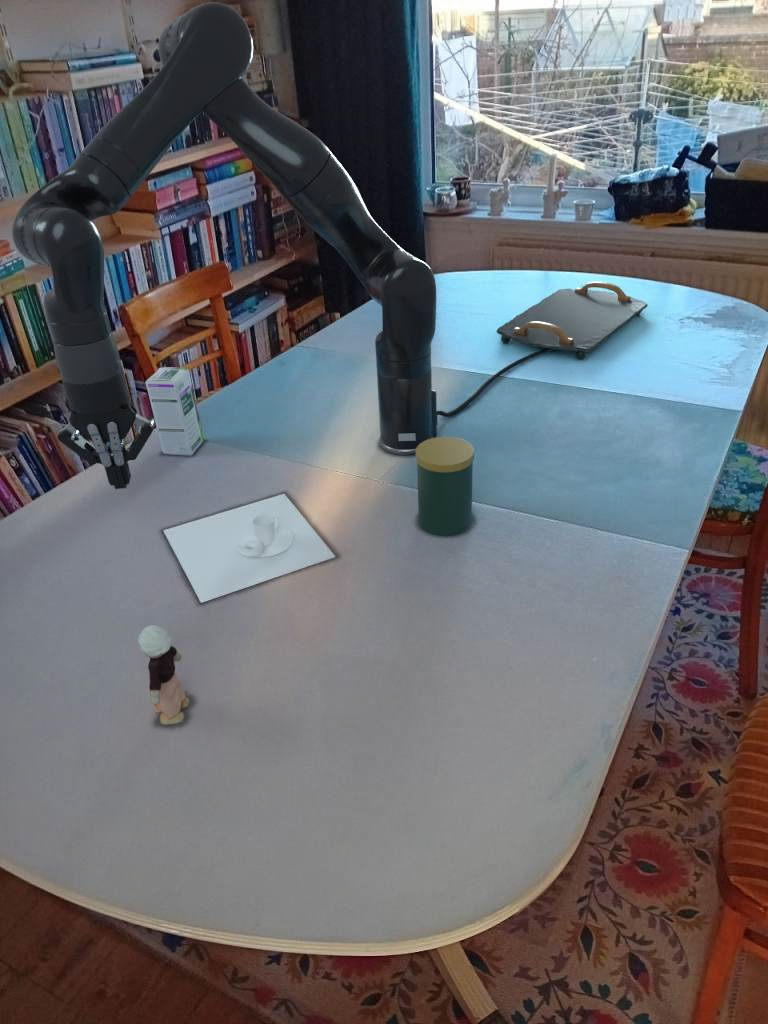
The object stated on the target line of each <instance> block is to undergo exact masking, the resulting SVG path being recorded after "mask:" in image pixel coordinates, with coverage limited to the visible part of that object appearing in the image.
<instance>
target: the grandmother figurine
mask: <svg viewBox="0 0 768 1024" xmlns="http://www.w3.org/2000/svg"><path fill="white" fill-rule="evenodd" d="M137 641H138V647H139V648H140V651H141V652H142V653H143V654H144V655H145V656H146V657H147V658H149V661H148V665H147V669H148V674H149V685H148V686H149V695H150V700H149V701H150V704H151V705H153V710H154V713H156V714H159V713H160V716H159V722H160V724H161V725H163V726H169V725H177V724H180V723H182V722H183V721H184V719H185V713H184V712H183V711H181V709H186V708H187V707H188V706H189V704H190V699H189V698H188V697H186V693H185V690H184V687H183V683H182V681H181V679H180V677H179V676H178V675H177V673H176V664H175V662H179V661H181V660H182V654H181V653H180V652H179V651H178V649H177V648H176V647H175V646H172V644H173V640H172V638H171V637H170V635H169V632H168V631H167V630H166V629H164V628H163V627H161V626H158V625H155V624H152V625H148V626H146V627H144V628H143V630H141V632H140V634H139V635H138V640H137Z"/></svg>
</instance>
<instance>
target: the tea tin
mask: <svg viewBox="0 0 768 1024" xmlns="http://www.w3.org/2000/svg"><path fill="white" fill-rule="evenodd" d="M415 461H416V466H417V468H416V469H417V470H416V471H417V502H418V503H417V504H418V506H417V507H418V509H417V510H418V523H419V526H420V528H421V529H422V530H424V531H425V532H426V533H429V534H431V535H435V536H442V537H448V536H455V535H458V534H461V533H464V532H465V531H467V530H468V529H469V528H470V527H471V525H472V521H473V469H474V467H473V465H474V463H473V462H474V461H475V448H474V446H473V444H471V443H470V441H469V442H468V441H467V440H465V439H463V438H459V437H454V436H437V437H436V438H431V439H428V440H426V441H423V442H422V443H420V444H419V445H418V446H417V448H416V454H415Z"/></svg>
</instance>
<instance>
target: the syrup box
mask: <svg viewBox="0 0 768 1024" xmlns="http://www.w3.org/2000/svg"><path fill="white" fill-rule="evenodd" d="M144 382H145V386H146V390H147V394H148V399H149V403H150V406H151V410H152V415H153V419H154V420H155V426H156V430H157V434H158V438H159V443H160V446H161V451H162V454H165V455H172V456H193V455H194V453H195V452H196V451H197V449H198V448H199V447H200V446H201V444H203V442H204V441H205V438H204V434H203V429H202V425H201V420H200V416H199V410H198V405H197V401H196V396H195V392H194V386H193V383H192V377H191V372H190V369H189V368H186V367H178V366H177V367H176V366H169V367H167V366H166V367H159V368H158V369H157V371H156V372H154V373H153V374H152V375H151V376H150V377H148V379H147V380H145V381H144Z"/></svg>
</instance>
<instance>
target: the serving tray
mask: <svg viewBox="0 0 768 1024" xmlns="http://www.w3.org/2000/svg"><path fill="white" fill-rule="evenodd" d="M590 288H597V289H599V288H600V289H604V290H609V291H603V290H592V289H590ZM610 291H612V292H610ZM648 305H649V304H648V303H647V302H645V301H644V300H641V299H637V298H634V297H632V296H630V295H627V294H626V293H625V292H624V291H623V289H622V288H621V287H620V286H618V285H616V284H613V283H610V282H603V281H590V282H588V283H586V284H584V285H583V286H582V287H575V288H561V289H558V290H557V291H555V292H553V293H552V294H550V295H548V296H547V297H545V298H543V299H542V300H540V301H539V302H538V303H536V304H533V305H532V306H530V307H528V308H527V309H526V310H524V311H523V312H521V313H519V314H517V315H516V316H515V317H513V318H512V319H510V320H509V321H507V322H505V323H504V324H502V325H501V326H499V327H498V328H497V329H496V334H497V335H500V341H501V342H502V344H503V345H507V344H509V343H510V342H511V341H515V342H518V343H521V344H525V345H528V346H532V347H537V348H542V349H545V348H549V349H553V350H556V351H557V350H558V351H568V352H569V351H570V352H575V357H576V359H577V360H579V361H582V360H584V359H585V358H586V356H587V352H590V351H592V350H594V349H595V348H596V347H598V346H599V345H601V344H602V343H604V341H605V340H607V339H608V338H609V337H611V336H612V335H613V334H614V333H616V332H618V330H620V329H621V328H622V327H623V326H625V325H626V324H627V323H629V322H630V321H631V320H632V319H634V318H635V317H636V316H640V314H642V311H643V310H645V309H646V308H647V307H648Z"/></svg>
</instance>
